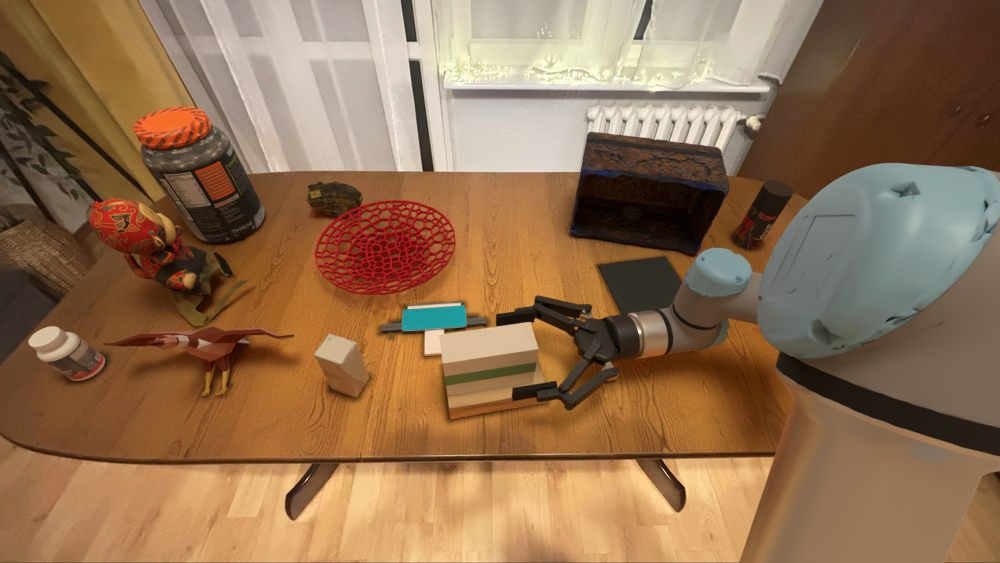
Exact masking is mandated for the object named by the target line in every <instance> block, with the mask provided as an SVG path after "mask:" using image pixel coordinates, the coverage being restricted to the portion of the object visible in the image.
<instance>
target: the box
mask: <svg viewBox="0 0 1000 563" xmlns="http://www.w3.org/2000/svg"><path fill="white" fill-rule="evenodd" d="M313 355H314V358H315V359H316V361H317V363H318V365H319V367H320V369H321V371H322V372H323V374H324V377H325V378H326V380H327V383H328V384H329V386H330V388H331V389H332V390H333V391H336V392H339V393H340V394H341V393H342V394H345V395H347V396H350V397H353V398H358V397H359V396H360V394H361V393H362V391H363V389H364V388H365V386H366V384H367V383H368V381H369V379H370V375H369V372H368V370H367V367H366V364H365V362H364V361H365V360H364V358H363V355H362V353H361V352H360V348H359V346H358V343H357V341H354V340H351V339H349V338H346V337H342V336H339V335H336V334H333V333H328V334H327V336H325V338H324V339H323V341H322V342H321V343H320V344H319V346H318V347H317V349H316V351H315V352H314V354H313Z"/></svg>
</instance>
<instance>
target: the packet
mask: <svg viewBox="0 0 1000 563" xmlns="http://www.w3.org/2000/svg"><path fill="white" fill-rule="evenodd" d="M439 337H440V346H441V355H440V356H441V363H442V369H443V378H444V384H445V390H446V396H447V397H448V396H455V395H461V394H467V393H473V392H479V391H485V390H491V389H497V388H503V387H509V386H516V385H522V384H528V383H533V379H534V373H535V370H536V364H537V356H538V354H539V346H538V345H539V344H538V342H537V339H536V335H535V332H534V328H533V326H532V323H531V322H526V323H519V324H512V325H505V326H498V327H496V326H492V327H491V326H490V327H484V328H477V329H470V330H464V331H457V332H449V333H444V334H442V335H439Z"/></svg>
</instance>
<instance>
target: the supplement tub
mask: <svg viewBox="0 0 1000 563" xmlns="http://www.w3.org/2000/svg"><path fill="white" fill-rule="evenodd" d="M132 130H133V132H134V134H135V136H136V138H137V140H138V141H139V143H141V146H140V158H141V160H142V162H143V165H144V166H145V168H146V169H147V170H148V172H149V173H150V174H151V176H152V177H153V179H154V180H155V182H156V183H157V185H158V186H159V187H160V188H161V190H162V192H163V193H164V194H165V196H166V197H167V198H168V201H170V203H171V205H172V206H173V207H174V208H175V210H176V211H177V213H178V215H180V217H181V218H182V220H183V221H184V223H185V224H186V225H187V227H188V228H189V230H190V231H191V232H192V234H193V235H195V237H197V238H198V239H199V240H201V241H203V242H206V243H211V244H212V243H213V244H223V243H230V242H233V241H237V240H240V239H243V238H245V237H247V236H249V235H251V234H252V233H254V232H255V231H256V230H257V229H259V227H260V226H261V225H262V223H263V221H264V220H265V209H264V206H263V203H262V201H261V200H260V198H259V195H258V194H257V192H256V190H255V188H254V186H253V183H252V182H251V180H250V177H249V175H248V173H247V171H246V169H245V167H244V165H243V163H242V161H241V160H240V157H239V156H238V154H237V151H236V149H235V148H234V146H233V144H232V142H231V140H230V138H229V137H228V135H227V134H226V133H225V132H224V131H223V130H222V129H221V128H220V127H217V126H216V125H214V124H212V121H211V119H210V118H209V117H208V115H207V113H206V111H205V110H203V109H202V108H199V107H195V106H185V105H184V106H183V105H182V106H172V107H166V108H163V109H159V110H155V111H153V112H149V113H148V114H146V115H144V116H142V117H141V118H140V119H138V120H137V121H136V122H135V123H134V125H133V128H132Z"/></svg>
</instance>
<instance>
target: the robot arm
mask: <svg viewBox="0 0 1000 563" xmlns="http://www.w3.org/2000/svg"><path fill="white" fill-rule="evenodd" d="M592 310H593V305H592V304H590V303H579V304H578V303H574V302H570V301H565V300H561V299H556V298H552V297H548V296H543V295H539V294H538V295H535V296H534V301H533V304H532V305H531V306H530V305H529V306H523V307H517V308H514V311H509V312H500V313H496V314H495V327H498V326H505V325H512V324H519V323H526V322H531V324H532V323H535V320H536V319H537V320H539V321H540V322H544V323H546V324H548V325H549V326H552V327H554V328H556V329H559V330H561V331H563V332H565V333H567V335H568V336H570V337H572V338H573V339H572V341H573V344H574V345H575V347H576V348H577V349H576V350H577V354H578V356H579V357H581V359H580V360H579V361H578V362H577V364H576V365H575V366H574V367H573V369H572V370H571V371H570V373H568V375H567V376H566V377H565V379H564V380H563V381H562V382H561V383H559V385H558V383H557V380H553V381H547V382H546V381H545V383H539V384H533V385H527V386H521V387H514V388H513V389H512V400H513V401H517V400H523V399H529V398H536V400H537V402H544V401H546V402H551V401H559V402H561V403H562V405H563V406H564V409H565V411H567V412H570V411H572V410H574V409H575V408H576V407H578V406H579V405H581V404H582V402H584V401H585V400H586V399H589V397H590V396H592V395H593V394H594V393H596V392H597V391H599V389H600V388H602V387H603V386H604V385H608V384H612V383H615V382H616V381H617V379H618V376H619V374H620V368H619V367H616V366H614V364H613V363H622V362H628V361H629V362H630V361H635V360H636V359H647V358H653V357H659V356H664V355H671V354H677V353H685V352H693V351H703V350H708V349H710V348H715V347H718V346H721V345H722V344H724V343H725V342H726V341H727V339H728V337H729V333H728V332H729V330H730V321H729V320H734V321H739V322H743V323H748V324H753V325H757V326H758V328H759V332H760V334H761V335H762V338H764V340H765V341H766V342H767V343H768V344H769V345H770V346H772V347H773V348H775V349H776V350H777V351H778V352H779V353H778V356H777V358H776V363H775V366H774V372H775V373H776V375H777V377H778V378H779V380H780V381H781V383H782V384H783V386H784V387H785V389H786V390H787V392H788V394H789V395H790V397H791V402H792V403H791V406H790V409H789V412H788V415H787V418H786V421H785V424H784V426H783V430H782V432H781V435H780V439H779V442H778V445H777V447H776V451H775V453H774V457H773V459H772V463H771V466H770V468H769V472H768V474H767V478H766V481H765V484H764V486H763V490H762V493H761V496H760V499H759V502H758V505H757V508H756V511H755V514H754V516H753V519H752V523H751V526H750V528H749V532H748V534H747V537H746V539H745V540H746V541H745V544H744V547H743V549H742V552H741V556H740V559H739V562H738V563H946V561H947V558H948V556H949V553H950V551H951V549H952V547H953V544H954V542H955V540H956V537H957V535H958V533H959V530H960V529H961V526H962V524H963V522H964V519H965V517H966V515H967V512H968V510H969V507H970V506H971V504H972V501H973V499H974V496H975V494H976V491H977V490H978V487H979V485H980V482H981V481H982V478H983V476H985V475H989V474H990V473H997V472H1000V172H999V171H992V170H989V169H985V168H983V167H978V166H974V165H973V166H972V165H966V166H965V165H964V166H944V165H929V164H928V165H927V164H913V163H912V164H911V163H903V162H883V163H877V164H870V165H867V166H864V167H861V168H857V169H856V170H852V171H850V172H849V173H846V174H844V175H842V176H840V177H838V178H837V179H835V180H833V181H832V182H830V183H829V184H827V185H826V186H825V187H823V188H822V189H820V190H819V192H817V193H816V194H815V195H814V196H813V197H812V198H810V200H809V201H808V202H807V203H806V204H805V205H804V206H803V207H801V209H800V210H798V212H797V213H796V215H795V216H794V217H793V219H791V221H790V223H789V224H788V225H787V227H786V228H785V230H783V232H782V234H781V235H780V237H779V239H778V241H777V243H776V245H775V246H774V247H773V250H772V252H771V254H770V257H768V260H767V262H766V264H765V268H764V271H763V272H759V271H754V270H753V269H752V265H751V263H750V262H749V261H748V260H747V259H746V257H744V256H743V255H742V254H740V253H734V252H733V251H732V250H731V249H730V248H725V247H711V248H710V247H709V248H707V249H705V250H703V251H701V252H700V253H699V254H697V256H696V257H695V259H694V260H693V262H692V263H691V265H690V267H689V268H688V270H686V272H685V274H684V278H683V281H682V284H681V286H680V288H679V290H678V293H677V295H676V297H675V298H674V300H673V302H672V304H671V306H670V307H669V308H664V309H658V310H649V311H642V312H634V313H629V314H628V315H626V314H615V315H614V314H613V315H607V316H604V317H602V318H594V317H593V314H592V313H593V312H592ZM593 364H596V365H599V366H601V367H602V368H601V371H600V372H598V373H597V374H595V375H594V376H593V377H592V378H590V379H589V380H588V381H586V382H585V383H584V384H582V385H581V386H579V387H578V388H577V389H575V390H574V391H573V392H572V393H570V392H571V391H572V389H573V388H574V387H575V385H576V384H577V383H578V382H579V381H580V379H581V378H582V377H583V376H584V374H585V373H586V372H587V371H588V370H589V368H590V367H591V366H592V365H593Z"/></svg>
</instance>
